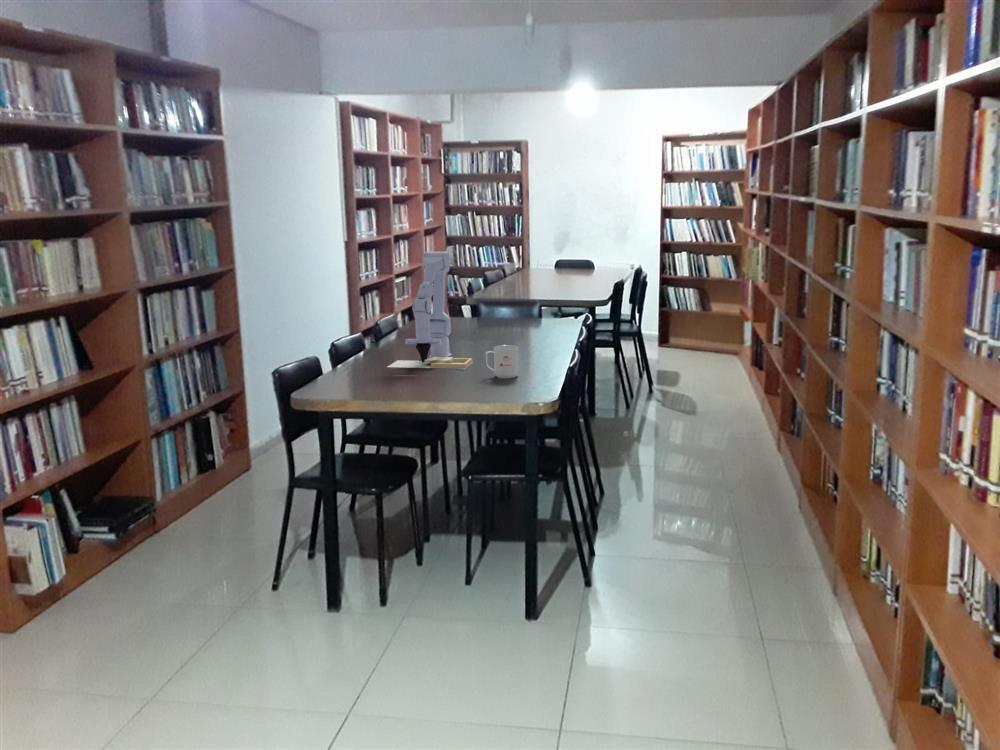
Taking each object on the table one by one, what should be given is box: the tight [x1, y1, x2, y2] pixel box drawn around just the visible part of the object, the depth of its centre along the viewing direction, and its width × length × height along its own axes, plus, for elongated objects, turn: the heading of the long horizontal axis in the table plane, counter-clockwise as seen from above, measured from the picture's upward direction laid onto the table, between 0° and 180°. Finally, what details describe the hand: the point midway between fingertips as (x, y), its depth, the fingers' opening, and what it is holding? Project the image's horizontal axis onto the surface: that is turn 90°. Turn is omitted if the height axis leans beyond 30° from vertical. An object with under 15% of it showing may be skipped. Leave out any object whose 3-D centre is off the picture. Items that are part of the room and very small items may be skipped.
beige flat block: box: [424, 356, 454, 366], centre depth 351 cm, size 10×7×2 cm
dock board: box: [387, 357, 474, 371], centre depth 352 cm, size 14×32×2 cm, turn 79°
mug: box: [485, 344, 519, 379], centre depth 327 cm, size 12×9×11 cm
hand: (424, 362), depth 352 cm, fingers closed
